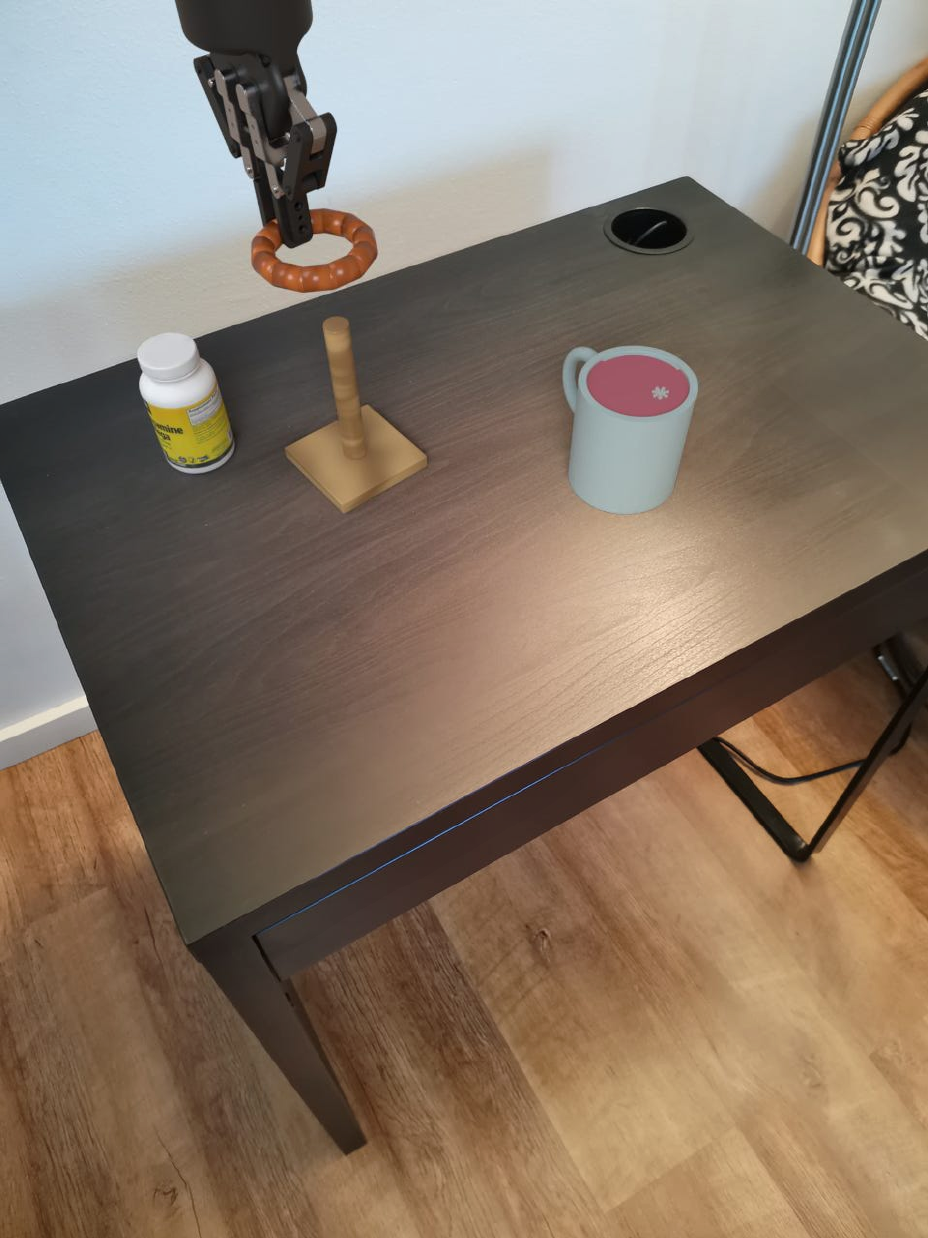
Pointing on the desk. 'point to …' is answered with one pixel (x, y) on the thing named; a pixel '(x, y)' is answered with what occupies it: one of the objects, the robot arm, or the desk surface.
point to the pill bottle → (184, 403)
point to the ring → (316, 275)
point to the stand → (352, 437)
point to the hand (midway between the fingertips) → (289, 234)
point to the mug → (627, 425)
